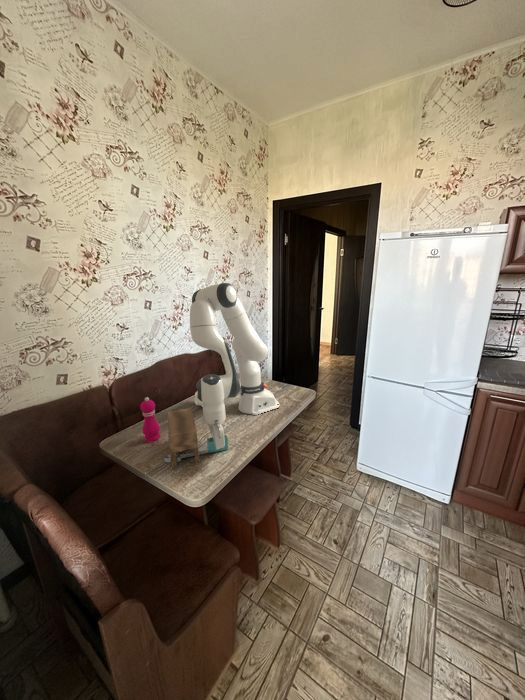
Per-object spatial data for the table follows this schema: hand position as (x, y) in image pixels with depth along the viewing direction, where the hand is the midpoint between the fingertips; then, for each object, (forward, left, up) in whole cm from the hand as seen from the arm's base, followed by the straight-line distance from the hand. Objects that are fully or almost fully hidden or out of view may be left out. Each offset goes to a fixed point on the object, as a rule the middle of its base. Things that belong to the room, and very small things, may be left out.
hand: (216, 445), depth 115 cm
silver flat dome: (+18, 0, -2) cm, 19 cm away
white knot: (0, -45, -2) cm, 45 cm away
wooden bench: (+13, -4, -2) cm, 14 cm away
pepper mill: (+26, -19, -2) cm, 32 cm away
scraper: (+6, 0, -2) cm, 6 cm away
